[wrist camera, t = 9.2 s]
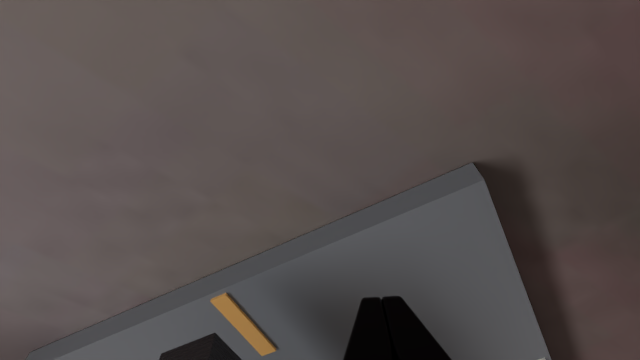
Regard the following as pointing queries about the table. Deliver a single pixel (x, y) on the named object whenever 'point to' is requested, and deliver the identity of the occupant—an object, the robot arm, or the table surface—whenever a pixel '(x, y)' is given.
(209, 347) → the brass dome with handle
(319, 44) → the table surface
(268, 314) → the socket base
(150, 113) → the table surface
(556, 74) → the table surface
